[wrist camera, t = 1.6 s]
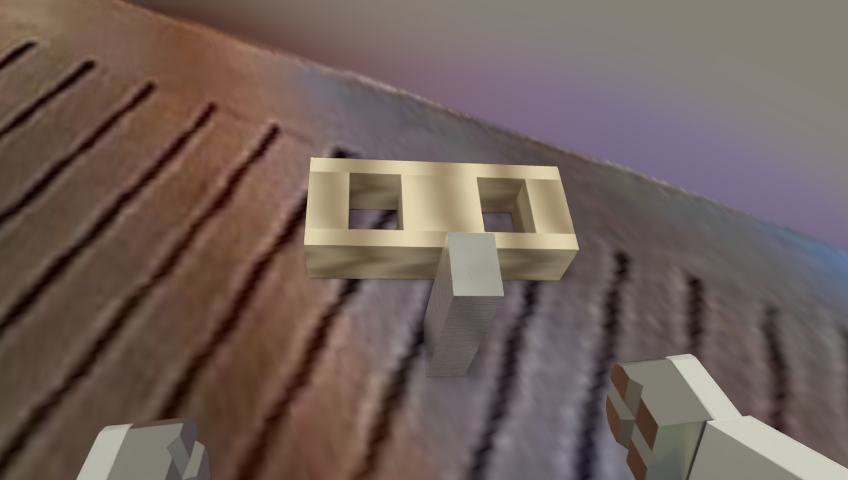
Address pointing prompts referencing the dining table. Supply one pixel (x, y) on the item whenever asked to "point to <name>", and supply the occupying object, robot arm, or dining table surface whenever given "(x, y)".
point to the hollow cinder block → (434, 217)
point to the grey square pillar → (461, 302)
